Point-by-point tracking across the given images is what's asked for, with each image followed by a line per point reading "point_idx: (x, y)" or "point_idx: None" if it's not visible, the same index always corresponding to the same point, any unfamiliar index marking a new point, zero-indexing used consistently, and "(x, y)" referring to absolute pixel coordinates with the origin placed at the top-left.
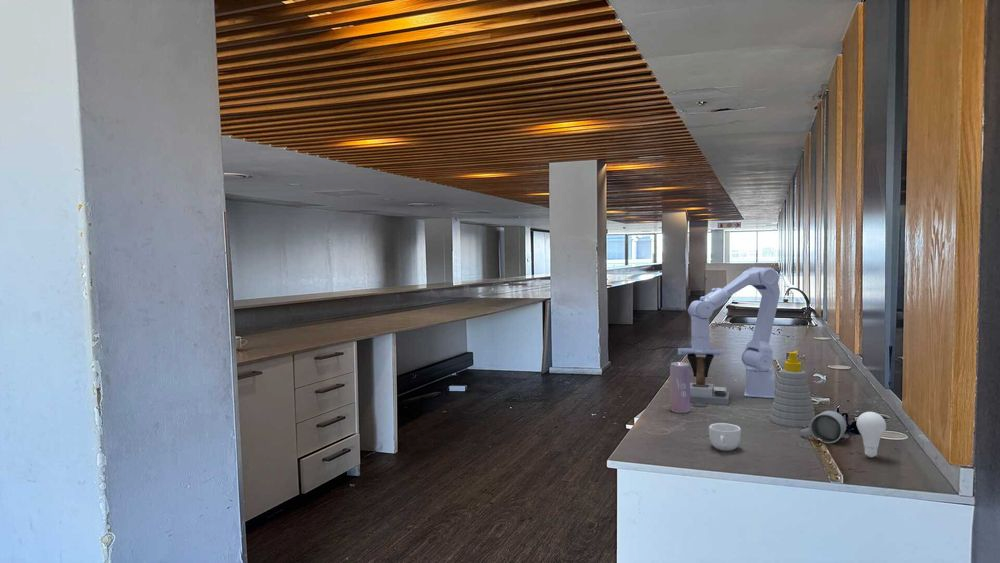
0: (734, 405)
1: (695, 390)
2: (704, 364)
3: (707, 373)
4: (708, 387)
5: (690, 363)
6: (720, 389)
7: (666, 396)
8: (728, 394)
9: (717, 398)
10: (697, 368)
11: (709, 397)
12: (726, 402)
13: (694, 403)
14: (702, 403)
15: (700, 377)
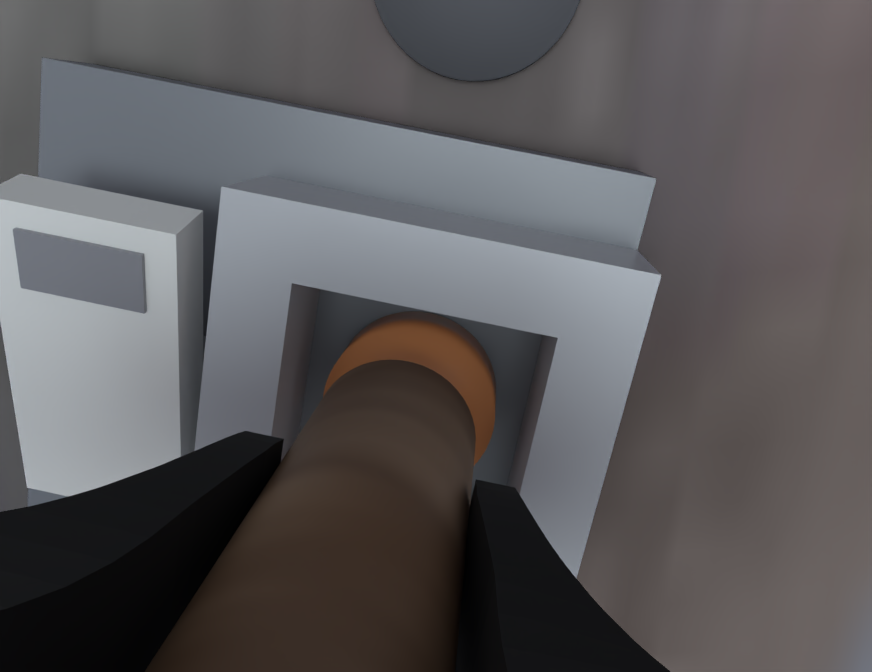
0: (13, 59)
1: (508, 234)
2: (174, 630)
3: (198, 453)
4: (277, 306)
5: (658, 666)
6: (86, 195)
7: (866, 477)
8: None
9: (193, 86)
10: (422, 550)
11: (307, 121)
12: (93, 65)
13: (547, 10)
14: (429, 29)
15: (382, 410)
